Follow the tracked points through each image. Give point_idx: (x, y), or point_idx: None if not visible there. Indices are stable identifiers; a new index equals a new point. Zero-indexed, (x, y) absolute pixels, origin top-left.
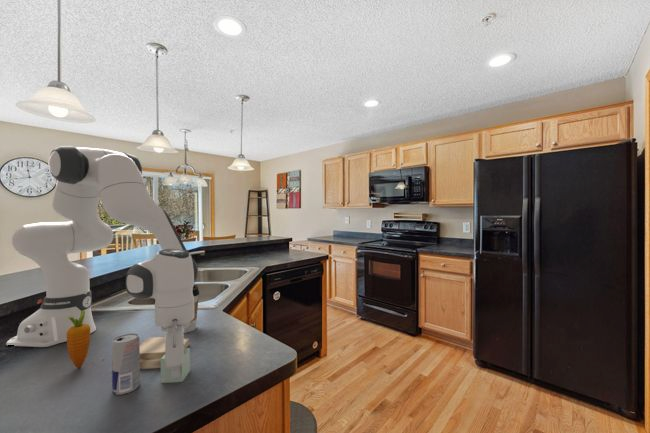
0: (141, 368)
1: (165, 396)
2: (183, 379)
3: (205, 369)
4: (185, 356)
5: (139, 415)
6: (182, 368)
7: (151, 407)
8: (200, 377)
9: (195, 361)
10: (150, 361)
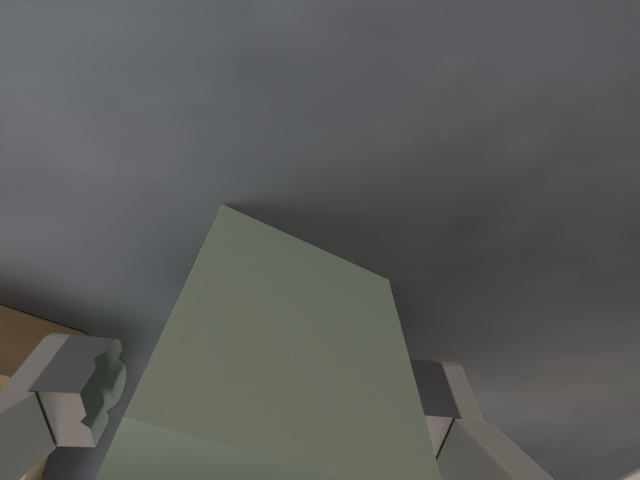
0: (46, 461)
1: (501, 372)
2: (365, 271)
3: (287, 53)
4: (327, 424)
5: (571, 456)
6: (399, 362)
7: (551, 423)
8: (429, 137)
9: (27, 129)
10: (26, 478)
